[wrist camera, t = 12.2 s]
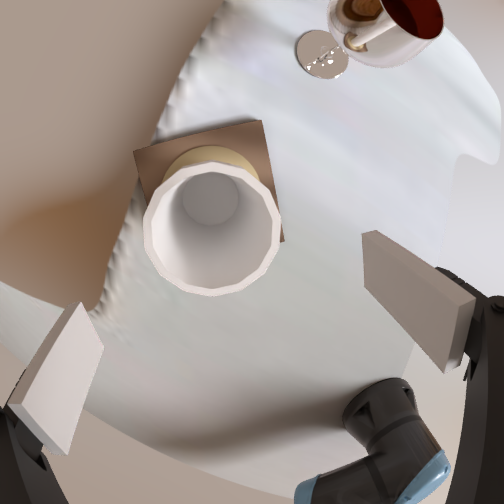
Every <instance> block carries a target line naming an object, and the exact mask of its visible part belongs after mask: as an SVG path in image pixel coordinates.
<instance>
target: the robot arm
mask: <svg viewBox="0 0 504 504" xmlns="http://www.w3.org/2000/svg"><path fill="white" fill-rule="evenodd" d="M362 247H363V264H364V287H365V288H366V289H367V290H368V291H369V292H370V293H371V294H372V295H373V296H374V297H375V298H376V299H377V301H378V302H379V303H380V304H381V305H382V306H383V307H384V308H385V309H386V310H387V311H388V312H389V313H390V314H391V315H392V316H393V318H394V319H395V320H396V321H397V322H398V323H399V324H400V325H401V326H402V327H403V328H404V330H405V331H406V332H407V333H408V334H409V335H410V336H411V337H412V338H413V339H414V341H415V342H416V343H417V344H418V345H419V346H420V347H421V348H422V349H423V351H424V352H425V353H426V354H427V355H428V356H429V357H430V358H431V360H432V361H433V362H434V363H435V364H436V365H437V366H438V368H439V369H440V370H441V371H442V372H443V374H445V373H447V372H449V371H450V370H452V369H454V368H456V367H458V366H460V364H461V361H462V357H463V354H464V352H465V353H466V354H467V355H468V356H469V357H470V360H469V363H468V367H467V370H466V373H465V376H464V379H463V381H466V379H467V389H466V400H465V409H464V417H463V425H462V432H461V438H460V444H459V449H458V454H457V460H456V464H455V469H454V474H453V477H452V481H451V485H450V489H449V493H448V496H447V500H446V503H445V504H504V296H492V297H489V298H488V297H486V296H485V295H483V294H482V293H481V292H479V291H478V290H477V289H475V288H474V287H472V286H471V285H469V284H468V283H465V281H464V280H462V279H461V278H458V276H456V275H455V274H453V273H452V272H450V271H449V270H446V269H443V268H440V267H436V268H434V267H432V266H431V265H429V264H428V263H426V262H425V261H423V260H422V259H420V258H419V257H417V256H416V255H414V254H413V253H411V252H410V251H408V250H407V249H405V248H404V247H402V246H401V245H399V244H397V243H396V242H394V241H393V240H391V239H390V238H388V237H386V236H385V235H383V234H382V233H380V232H378V231H377V230H374V231H370V232H366V233H362ZM103 351H104V346H103V344H102V342H101V340H100V339H99V337H98V335H97V333H96V331H95V329H94V327H93V325H92V323H91V321H90V319H89V317H88V315H87V313H86V311H85V309H84V306H83V304H82V302H81V301H80V302H76V303H71V304H68V306H67V307H66V308H65V310H64V311H63V313H62V314H61V316H60V317H59V319H58V320H57V322H56V323H55V325H54V326H53V328H52V329H51V331H50V332H49V334H48V335H47V337H46V338H45V340H44V341H43V343H42V344H41V346H40V348H39V349H38V351H37V352H36V354H35V356H34V357H33V359H32V361H31V362H30V364H29V366H28V367H27V368H26V369H25V370H24V372H23V374H22V375H21V377H20V379H19V380H20V381H18V382H17V384H16V388H14V389H13V391H12V393H11V395H10V397H9V398H8V400H7V402H6V404H5V406H4V408H3V409H2V408H1V406H0V504H69V503H68V501H67V499H66V498H65V496H64V494H63V492H62V490H61V488H60V486H59V484H58V482H57V480H56V478H55V475H54V473H53V471H52V469H51V467H50V464H49V462H48V460H47V458H46V456H45V455H44V454H43V453H42V452H41V450H42V447H43V445H44V446H45V447H46V448H47V449H48V450H49V451H50V452H51V453H52V454H55V455H68V453H69V449H70V446H71V442H72V439H73V436H74V432H75V429H76V426H77V423H78V420H79V417H80V414H81V411H82V408H83V405H84V402H85V399H86V396H87V393H88V391H89V388H90V385H91V382H92V379H93V377H94V374H95V371H96V369H97V366H98V364H99V361H100V358H101V356H102V353H103ZM343 423H344V425H345V427H346V429H347V431H348V432H349V433H350V434H351V435H352V436H353V437H354V438H355V439H356V440H357V441H358V442H359V443H361V444H362V445H363V446H364V447H365V448H366V450H367V452H368V454H369V455H368V456H366V457H364V458H362V459H359V460H357V461H355V462H352V463H350V464H347V465H345V466H342V467H340V468H337V469H335V470H332V471H329V472H326V473H324V474H319V475H317V476H316V477H314V478H311V479H309V480H306V481H303V482H301V483H300V484H299V485H298V486H297V488H296V490H295V494H294V504H417V503H418V502H420V501H421V500H423V499H424V498H426V497H427V496H428V495H429V494H431V493H432V492H433V491H434V490H435V489H437V488H438V487H439V486H440V485H441V484H442V483H443V482H444V480H445V479H446V478H447V477H448V475H449V473H450V470H451V466H450V463H449V461H448V459H447V457H446V456H445V454H444V453H445V452H444V450H442V449H441V447H440V446H439V444H438V443H437V441H436V439H435V438H434V437H433V435H432V433H431V432H430V431H429V429H428V428H427V426H426V425H425V423H424V422H423V420H422V419H421V417H420V416H419V413H418V409H417V404H416V400H415V395H414V392H413V390H412V388H411V387H410V385H409V384H408V382H407V381H405V380H404V379H400V378H393V379H388V380H384V381H381V382H379V383H377V384H375V385H373V386H371V387H369V388H367V389H366V390H364V391H363V392H362V393H360V394H359V395H358V396H357V397H355V398H354V399H353V400H352V401H351V403H350V404H349V405H348V406H347V408H346V409H345V411H344V414H343Z"/></svg>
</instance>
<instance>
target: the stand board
mask: <svg viewBox="0 0 504 504" xmlns="http://www.w3.org/2000/svg"><path fill="white" fill-rule="evenodd" d="M133 153H134V157H135V161H136V165H137V169H138V173H139V177H140V181H141V185H142V188H143V192H144V196H145V199H146V203H147V206H148V205H149V203H150V201H151V198H152V196H153V194H154V192H155V190H156V189H157V188H158V187H159V186H160V185H161V184H162V183H163V182H165V181H166V180H167V179H168V178H169V177H171V176H172V175H173V174H174V173H175V172H177V171H178V170H179V169H180V168H182V167H183V166H186V165H190V164H195V163H199V162H203V161H208V160H217V161H221V162H225V163H230V164H234V165H238V166H241V167H243V168H244V169H245V170H246V171H247V172H249V173H250V174H251V175H252V176H253V177H255V178H256V179H257V180H258V181H259V182H261V183H262V184H263V185H264V186H265V187H266V188H268V189H269V190H270V193H271V195H272V197H273V200H274V202H275V204H276V207H277V209H278V212H279V207H278V201H277V196H276V191H275V185H274V180H273V175H272V169H271V164H270V159H269V154H268V149H267V144H266V139H265V134H264V129H263V124H262V120H258V121H252V122H247V123H242V124H237V125H232V126H227V127H223V128H218V129H214V130H209V131H205V132H201V133H197V134H193V135H189V136H185V137H181V138H177V139H173V140H170V141H166V142H162V143H159V144H155V145H152V146H149V147H145V148H142V149H139V150H135V151H133ZM279 214H280V212H279ZM280 242H284V235H283V229H282V224H281V230H280Z"/></svg>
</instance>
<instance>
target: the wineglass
mask: <svg viewBox="0 0 504 504" xmlns="http://www.w3.org/2000/svg"><path fill="white" fill-rule="evenodd" d="M327 24H328V28H329V31H330V33H329V32H326V31H320V30H317V31H311V32H309V33H307V34H305V35H304V36H303V37H302V38H301V39H300V41H299V43H298V45H297V56H298V59H299V62H300V64H301V65H302V67H303V68H304V69H305V70H306V71H307V72H308V73H310V74H311V75H313V76H315V77H318V78H322V79H332V78H336V77H338V76H340V75H341V74H342V73H343V72H344V71H345V70H346V68H347V65H348V59H349V58H348V56H350V57H351V58H353V59H354V60H356V61H358V62H360V63H362V64H364V65H367V66H371V67H375V68H393V67H397V66H400V65H402V64H404V63H406V62H408V61H410V60H411V59H413V58H414V57H415V56H416V55H418V54H419V53H420V52H421V51H423V50H424V49H425V48H426V47H427V46H429V45H430V44H431V43H432V42H433V41H434V40H435V39H436V38H438V37H439V36H440V35H441V33H442V31H443V28H444V16H443V12H442V9H441V6H440V4H439V2H438V0H330V1H329V4H328V7H327Z"/></svg>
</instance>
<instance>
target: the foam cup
mask: <svg viewBox="0 0 504 504" xmlns="http://www.w3.org/2000/svg"><path fill="white" fill-rule="evenodd" d="M280 230H281V216H280V214H279V212H278V209H277V207H276V204H275V202H274V200H273V197H272V195H271V193H270V190H269V189H268V188H266V187H265V186H264V185H263V184H262V183H261V182H259V181H258V180H257V179H256V178H255V177H253V176H252V175H251V174H250V173H249V172H247V171H246V170H245V169H244V168H243V167H241V166H238V165H234V164H230V163H225V162H221V161H217V160H208V161H203V162H199V163H195V164H190V165H186V166H183V167H182V168H180V169H179V170H178V171H177V172H175V173H174V174H173V175H172V176H171V177H169V178H168V179H167V180H166V181H165V182H163V183H162V184H161V185H160V186H159V187H158V188H157V189H156V190H155V192H154V194H153V196H152V198H151V201H150V203H149V205H148V208H147V210H146V212H145V215H144V217H143V232H144V245H145V250H146V252H147V254H148V256H149V257H150V259H151V261H152V263H153V264H154V266H155V268H156V269H157V271H158V273H159V274H160V275H161V276H162V277H164V278H165V279H167V280H168V281H170V282H171V283H172V284H174V285H175V286H177V287H178V288H180V289H181V290H183V291H185V292H190V293H196V294H201V295H206V296H212V297H213V296H218V295H222V294H227V293H231V292H236V291H240V290H242V289H244V288H245V287H246V286H248V285H249V284H251V283H252V282H253V281H255V280H256V279H258V278H259V277H260V276H262V275H263V274H264V273H265V272H266V270H267V268H268V267H269V265H270V263H271V261H272V260H273V258H274V256H275V254H276V253H277V251H278V249H279V244H280Z"/></svg>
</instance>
